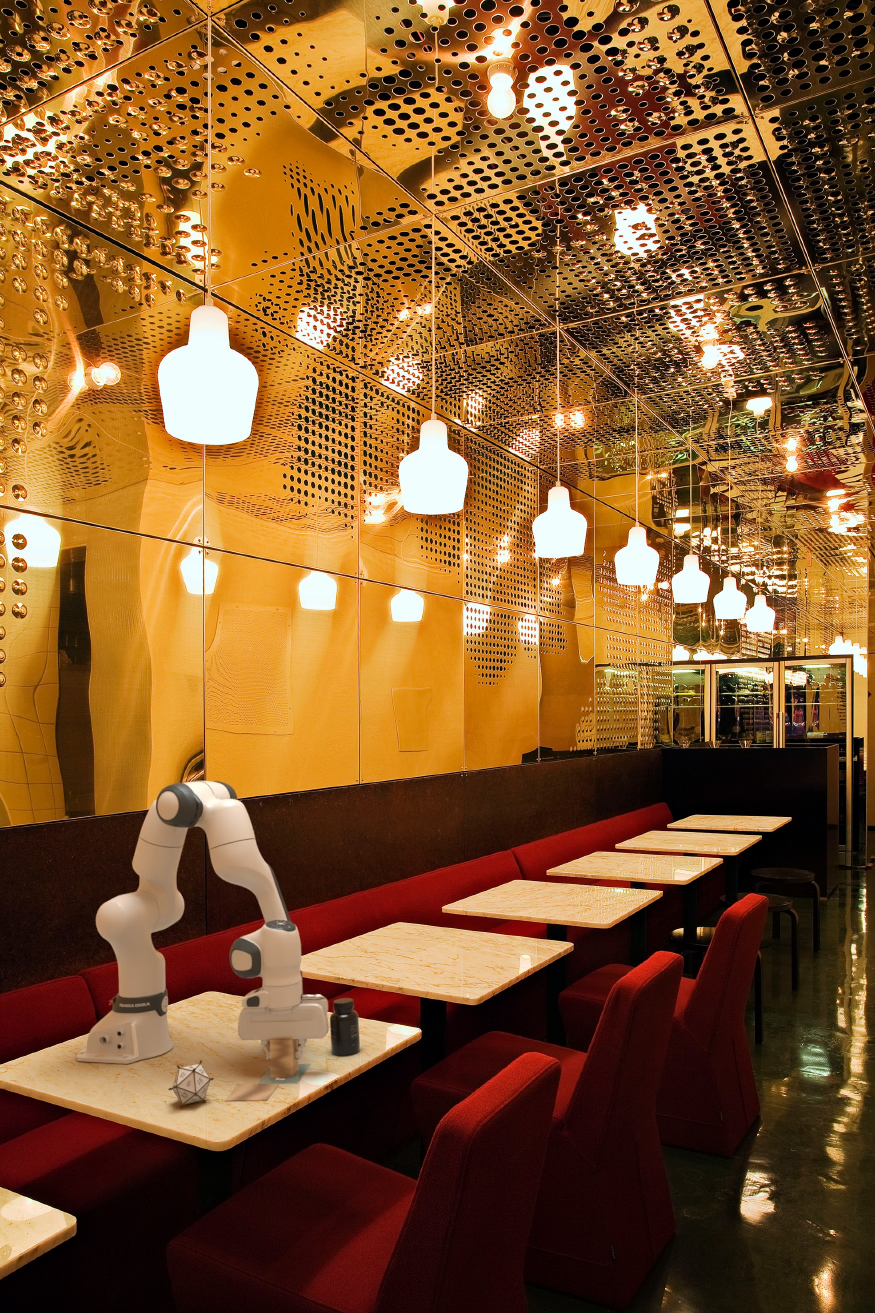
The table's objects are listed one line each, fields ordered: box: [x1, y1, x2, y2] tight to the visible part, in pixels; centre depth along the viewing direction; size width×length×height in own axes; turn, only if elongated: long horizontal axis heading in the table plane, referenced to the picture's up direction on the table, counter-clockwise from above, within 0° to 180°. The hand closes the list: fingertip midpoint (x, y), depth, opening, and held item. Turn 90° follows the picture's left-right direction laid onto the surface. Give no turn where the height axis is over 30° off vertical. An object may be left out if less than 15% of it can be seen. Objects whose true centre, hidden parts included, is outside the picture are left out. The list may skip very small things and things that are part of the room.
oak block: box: [269, 1039, 299, 1078], centre depth 195 cm, size 5×5×8 cm
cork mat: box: [224, 1083, 280, 1103], centre depth 184 cm, size 9×9×1 cm
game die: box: [167, 1059, 215, 1109], centre depth 181 cm, size 9×8×10 cm
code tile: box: [257, 1063, 311, 1085], centre depth 195 cm, size 9×12×1 cm
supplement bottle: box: [329, 997, 361, 1057], centre depth 208 cm, size 7×7×12 cm
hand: (284, 1059), depth 195 cm, fingers closed on oak block, 5 cm apart
